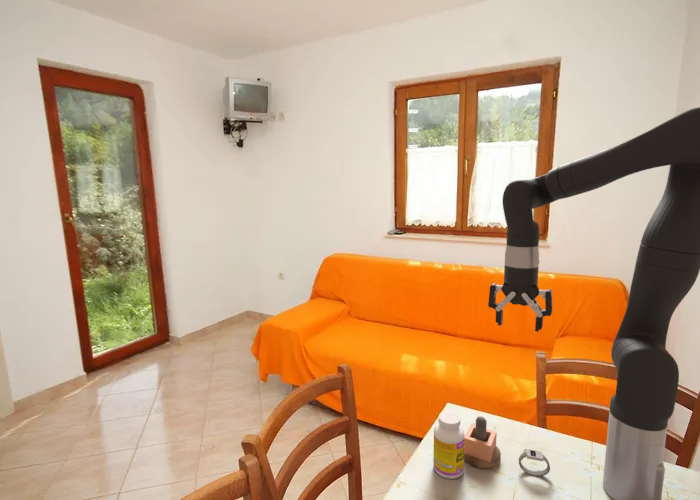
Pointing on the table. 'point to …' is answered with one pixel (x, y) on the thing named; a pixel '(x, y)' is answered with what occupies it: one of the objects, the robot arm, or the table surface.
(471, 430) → the pink hollow square block
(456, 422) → the supplement bottle
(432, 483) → the table surface
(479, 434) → the post stand
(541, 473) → the wristwatch
